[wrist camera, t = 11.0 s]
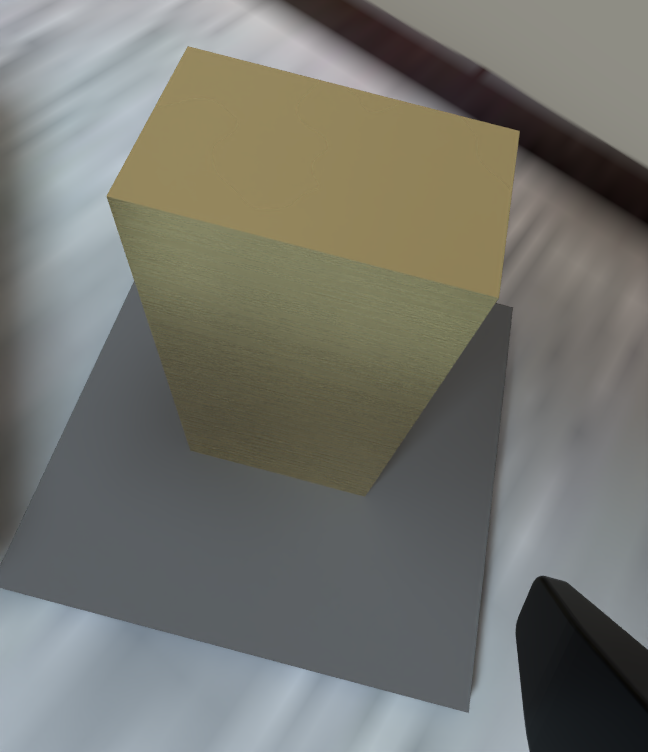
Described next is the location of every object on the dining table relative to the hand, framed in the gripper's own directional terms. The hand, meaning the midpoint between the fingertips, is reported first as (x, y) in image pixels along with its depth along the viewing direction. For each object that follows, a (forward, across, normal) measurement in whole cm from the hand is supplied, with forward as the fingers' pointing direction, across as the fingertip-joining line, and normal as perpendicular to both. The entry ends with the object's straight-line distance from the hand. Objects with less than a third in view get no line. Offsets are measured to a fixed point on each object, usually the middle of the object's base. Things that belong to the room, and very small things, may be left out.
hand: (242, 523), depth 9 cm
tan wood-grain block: (+8, 0, +2) cm, 8 cm away
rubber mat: (+8, 0, +2) cm, 9 cm away
